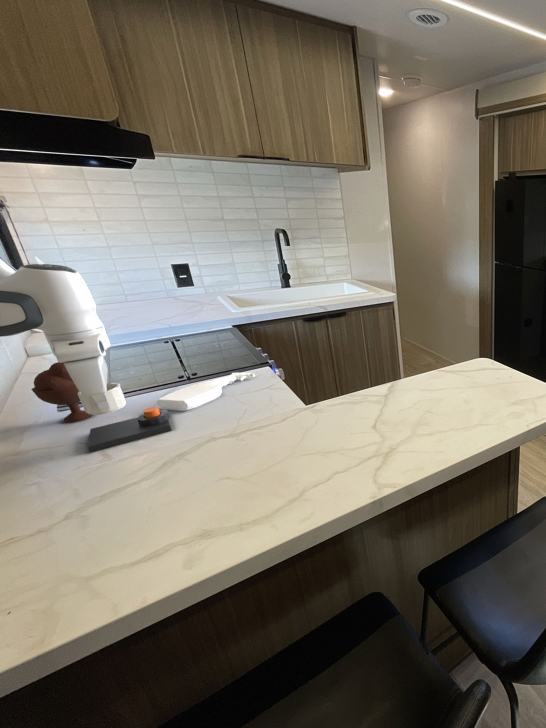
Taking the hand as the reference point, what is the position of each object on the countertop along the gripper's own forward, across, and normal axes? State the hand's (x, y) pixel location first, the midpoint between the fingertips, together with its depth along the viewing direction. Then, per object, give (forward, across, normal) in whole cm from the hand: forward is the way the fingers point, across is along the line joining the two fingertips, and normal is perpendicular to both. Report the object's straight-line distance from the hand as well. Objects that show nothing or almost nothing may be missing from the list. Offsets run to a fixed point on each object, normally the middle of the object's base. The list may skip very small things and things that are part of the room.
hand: (105, 402), depth 90 cm
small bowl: (+2, 0, 0) cm, 2 cm away
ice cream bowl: (+9, -20, -8) cm, 23 cm away
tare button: (+6, 0, +7) cm, 9 cm away
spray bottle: (+9, -15, +20) cm, 27 cm away
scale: (+9, 0, +2) cm, 9 cm away
